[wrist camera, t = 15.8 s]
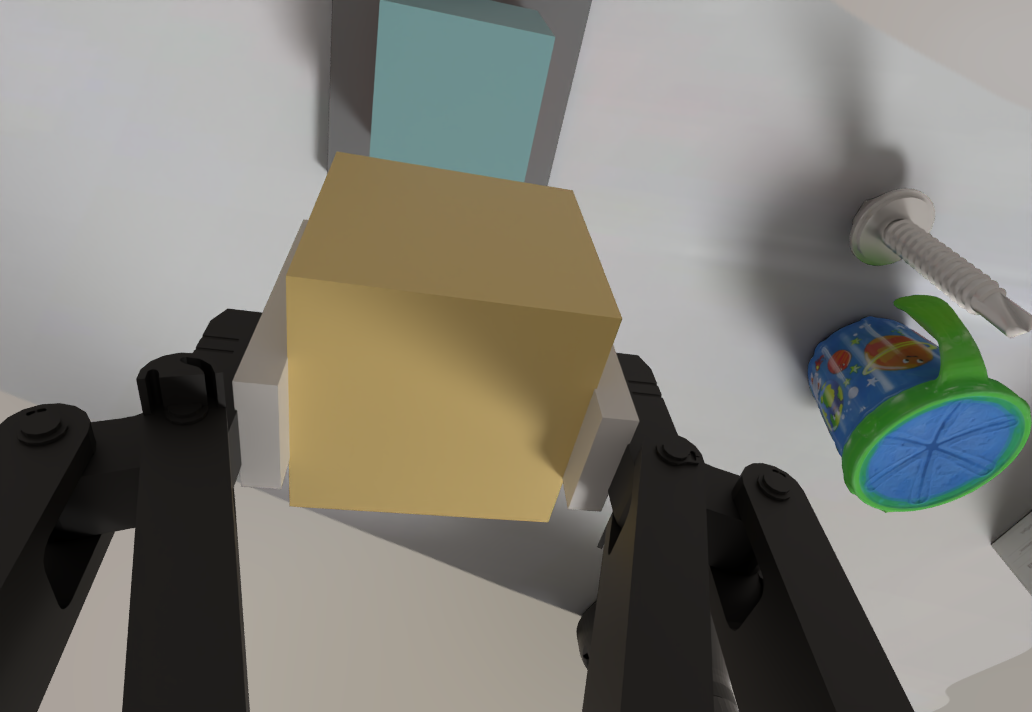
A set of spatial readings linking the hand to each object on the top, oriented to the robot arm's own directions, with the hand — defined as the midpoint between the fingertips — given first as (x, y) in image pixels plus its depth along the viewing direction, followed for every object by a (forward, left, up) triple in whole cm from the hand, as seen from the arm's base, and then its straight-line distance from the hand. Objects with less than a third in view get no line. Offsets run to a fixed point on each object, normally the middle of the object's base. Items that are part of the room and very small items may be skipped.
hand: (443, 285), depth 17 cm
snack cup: (+4, -34, -20) cm, 39 cm away
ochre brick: (0, 0, 0) cm, 0 cm away
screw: (+11, -25, -20) cm, 33 cm away
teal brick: (+2, +1, -15) cm, 15 cm away
